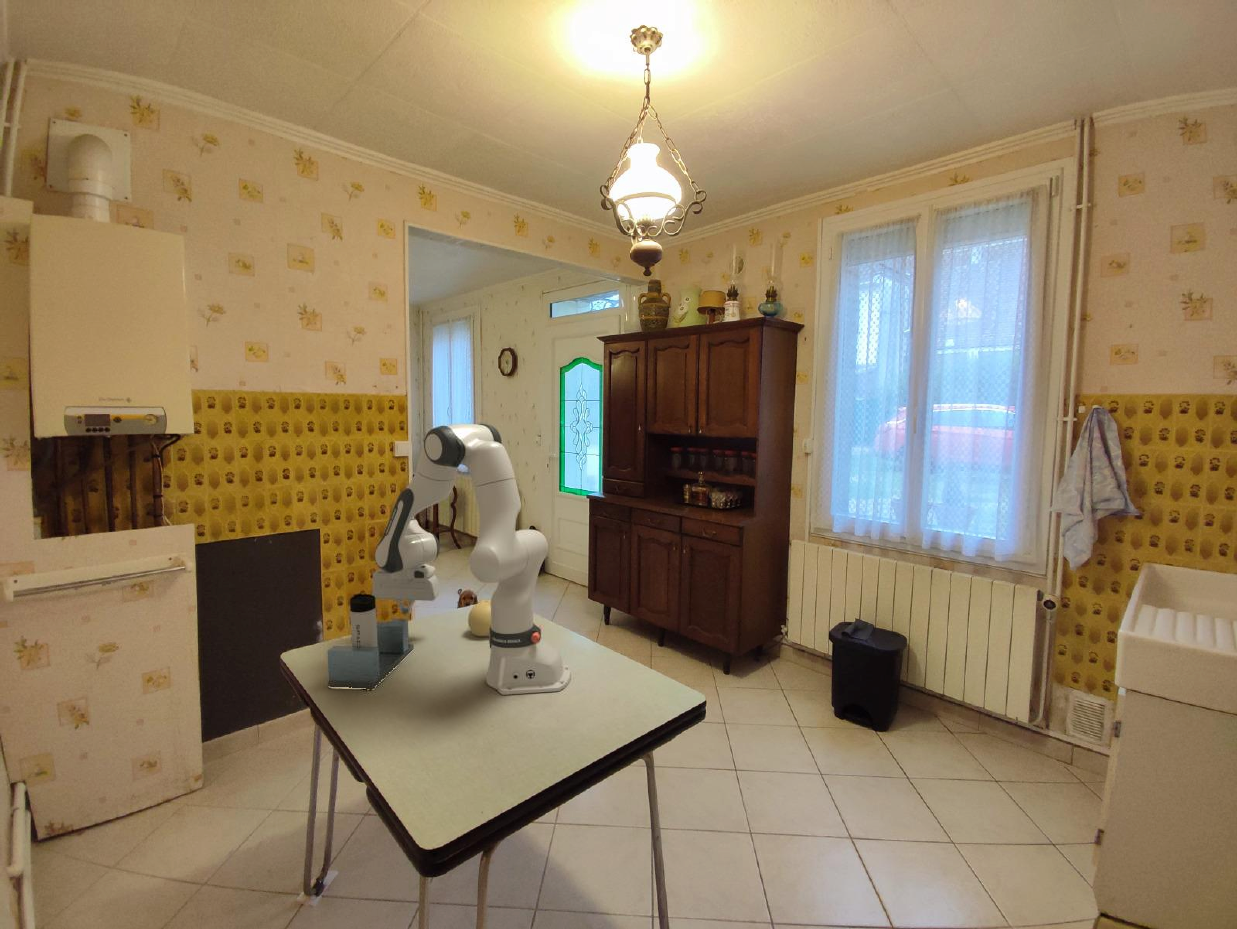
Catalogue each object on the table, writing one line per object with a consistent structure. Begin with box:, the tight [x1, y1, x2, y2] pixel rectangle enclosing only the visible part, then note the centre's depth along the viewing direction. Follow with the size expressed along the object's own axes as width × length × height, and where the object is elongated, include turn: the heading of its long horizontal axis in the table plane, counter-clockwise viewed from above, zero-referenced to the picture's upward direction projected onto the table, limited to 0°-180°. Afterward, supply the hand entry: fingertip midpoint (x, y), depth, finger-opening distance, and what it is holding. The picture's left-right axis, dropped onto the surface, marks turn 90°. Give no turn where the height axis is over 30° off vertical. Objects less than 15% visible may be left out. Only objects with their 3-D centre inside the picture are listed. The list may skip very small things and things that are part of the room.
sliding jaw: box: [377, 618, 410, 653], centre depth 165 cm, size 11×12×8 cm
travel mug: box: [349, 592, 378, 647], centre depth 149 cm, size 6×7×20 cm
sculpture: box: [467, 598, 491, 637], centre depth 180 cm, size 11×12×11 cm
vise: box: [326, 643, 415, 690], centre depth 154 cm, size 24×12×10 cm, turn 176°
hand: (406, 612), depth 176 cm, fingers closed
